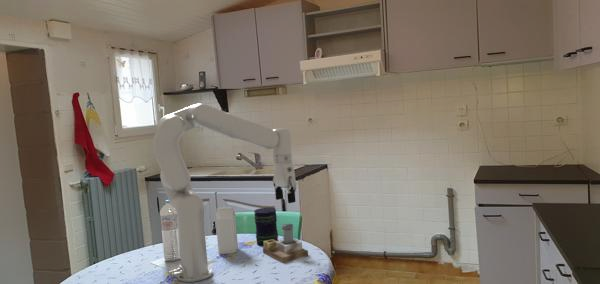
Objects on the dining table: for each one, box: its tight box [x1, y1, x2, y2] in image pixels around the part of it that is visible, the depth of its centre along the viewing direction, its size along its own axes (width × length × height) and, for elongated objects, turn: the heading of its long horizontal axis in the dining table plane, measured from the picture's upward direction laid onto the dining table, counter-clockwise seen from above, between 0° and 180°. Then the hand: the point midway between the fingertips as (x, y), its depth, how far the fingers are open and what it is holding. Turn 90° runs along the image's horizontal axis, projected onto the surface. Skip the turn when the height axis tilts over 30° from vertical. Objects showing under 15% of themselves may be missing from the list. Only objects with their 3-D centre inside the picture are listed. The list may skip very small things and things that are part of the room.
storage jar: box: [253, 207, 279, 247], centre depth 197 cm, size 10×10×15 cm
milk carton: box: [215, 206, 239, 255], centre depth 189 cm, size 7×7×19 cm
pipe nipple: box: [281, 223, 294, 245], centre depth 180 cm, size 5×5×10 cm
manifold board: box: [262, 238, 309, 264], centre depth 180 cm, size 12×16×5 cm
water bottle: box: [159, 199, 181, 262], centre depth 183 cm, size 7×7×25 cm
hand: (285, 200), depth 179 cm, fingers open, 9 cm apart
